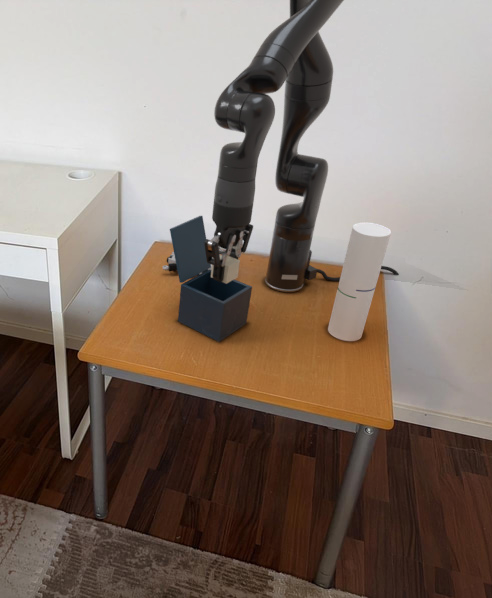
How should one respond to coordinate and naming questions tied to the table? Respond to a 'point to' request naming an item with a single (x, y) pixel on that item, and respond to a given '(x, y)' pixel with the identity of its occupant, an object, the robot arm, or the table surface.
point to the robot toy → (173, 266)
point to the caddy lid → (189, 248)
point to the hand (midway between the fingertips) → (224, 276)
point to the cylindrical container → (358, 280)
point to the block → (229, 269)
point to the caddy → (214, 305)
